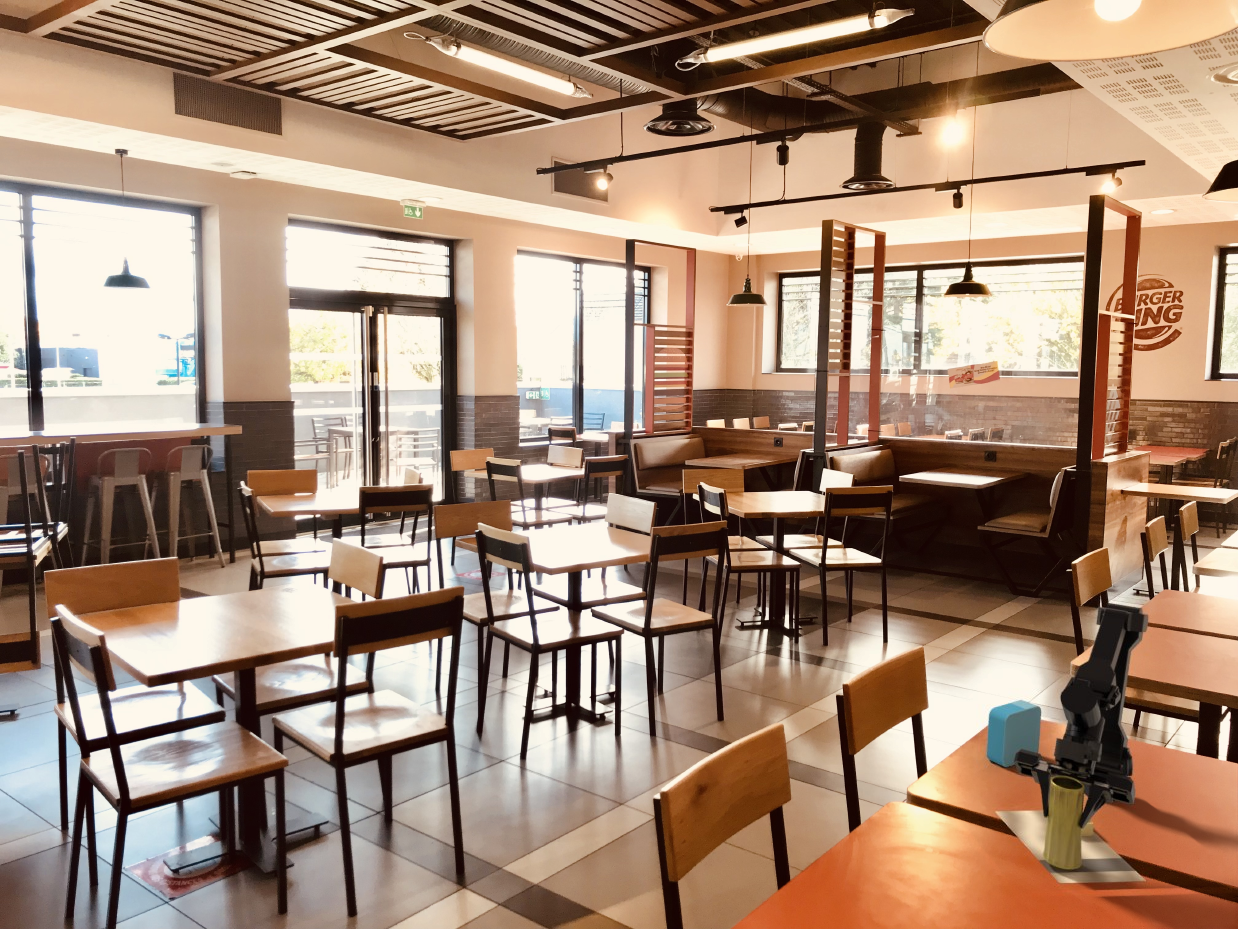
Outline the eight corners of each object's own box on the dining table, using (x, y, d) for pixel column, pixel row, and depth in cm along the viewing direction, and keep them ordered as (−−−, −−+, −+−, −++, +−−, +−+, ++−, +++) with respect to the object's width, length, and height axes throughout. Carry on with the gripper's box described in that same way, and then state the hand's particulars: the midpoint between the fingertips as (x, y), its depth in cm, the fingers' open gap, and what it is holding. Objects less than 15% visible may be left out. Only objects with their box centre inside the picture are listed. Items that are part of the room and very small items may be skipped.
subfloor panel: (1070, 813, 180) (1070, 809, 180) (1145, 885, 156) (1146, 881, 156) (994, 815, 179) (994, 811, 179) (1059, 887, 156) (1059, 883, 156)
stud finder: (1052, 817, 177) (1053, 802, 177) (1072, 816, 178) (1073, 801, 177) (1071, 836, 170) (1072, 820, 170) (1092, 835, 171) (1093, 820, 170)
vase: (1075, 874, 156) (1081, 795, 154) (1037, 861, 161) (1042, 783, 159) (1086, 859, 161) (1091, 781, 159) (1049, 846, 165) (1054, 770, 163)
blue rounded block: (1020, 749, 209) (1024, 698, 207) (1038, 757, 205) (1042, 705, 203) (985, 761, 203) (988, 708, 201) (1003, 769, 199) (1006, 715, 197)
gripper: (1020, 705, 166) (998, 787, 159) (1137, 733, 155) (1119, 822, 148) (1029, 732, 173) (1009, 812, 166) (1142, 760, 162) (1125, 847, 155)
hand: (1062, 822), depth 159 cm, fingers closed on vase, 5 cm apart
